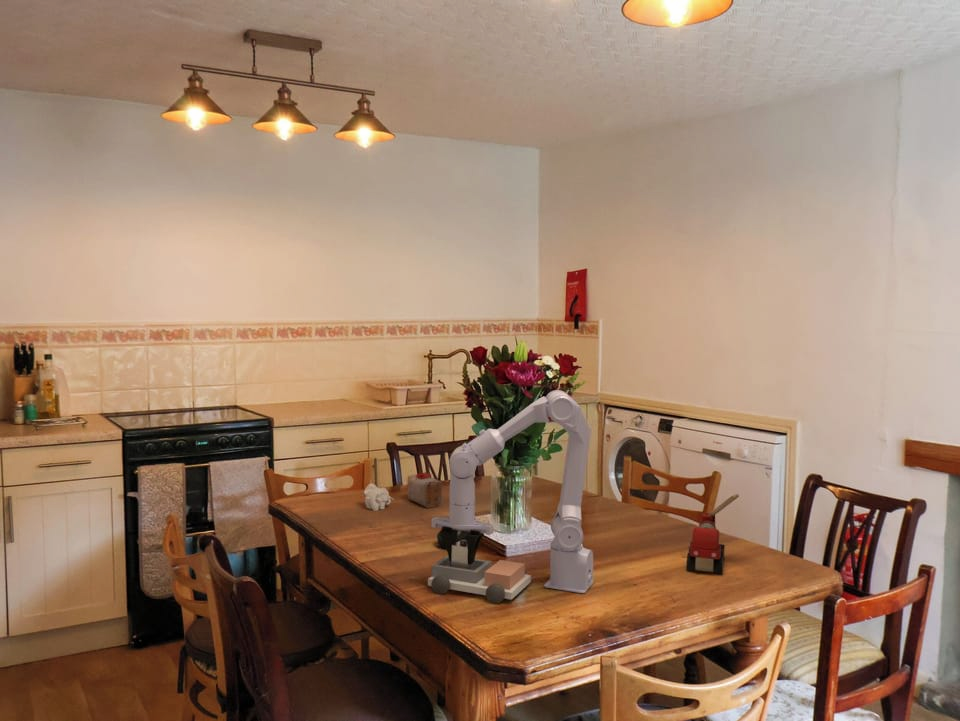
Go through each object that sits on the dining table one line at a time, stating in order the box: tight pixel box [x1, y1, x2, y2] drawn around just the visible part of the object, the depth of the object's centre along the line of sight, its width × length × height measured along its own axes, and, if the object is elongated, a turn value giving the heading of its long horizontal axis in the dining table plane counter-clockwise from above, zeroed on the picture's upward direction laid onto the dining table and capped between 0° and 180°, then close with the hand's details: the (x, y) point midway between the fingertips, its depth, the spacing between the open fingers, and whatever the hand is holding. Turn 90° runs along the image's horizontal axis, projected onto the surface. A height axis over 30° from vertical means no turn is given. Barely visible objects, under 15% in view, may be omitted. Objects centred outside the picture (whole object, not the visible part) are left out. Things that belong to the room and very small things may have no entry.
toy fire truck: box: [685, 493, 740, 575], centre depth 199 cm, size 11×16×18 cm
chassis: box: [427, 554, 532, 605], centre depth 182 cm, size 20×14×6 cm
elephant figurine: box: [364, 483, 395, 512], centre depth 250 cm, size 8×10×7 cm
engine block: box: [451, 540, 475, 570], centre depth 185 cm, size 4×4×7 cm
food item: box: [406, 471, 443, 509], centre depth 257 cm, size 14×8×10 cm, turn 33°
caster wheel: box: [436, 529, 470, 551], centre depth 214 cm, size 7×12×10 cm
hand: (461, 561), depth 184 cm, fingers closed on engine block, 4 cm apart
